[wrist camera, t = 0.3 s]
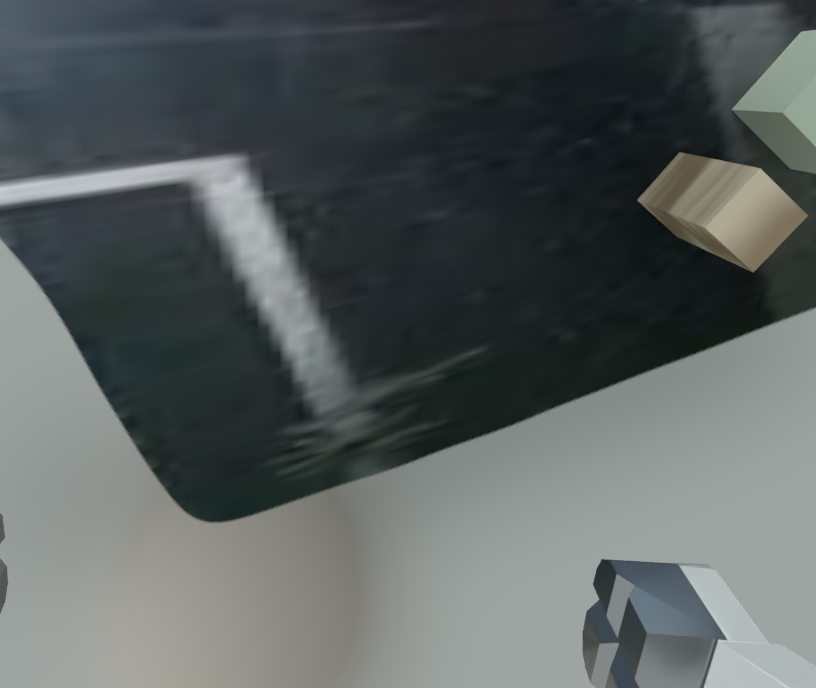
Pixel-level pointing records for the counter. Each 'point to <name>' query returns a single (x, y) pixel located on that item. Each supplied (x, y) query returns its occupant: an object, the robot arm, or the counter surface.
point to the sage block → (786, 105)
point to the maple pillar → (723, 208)
